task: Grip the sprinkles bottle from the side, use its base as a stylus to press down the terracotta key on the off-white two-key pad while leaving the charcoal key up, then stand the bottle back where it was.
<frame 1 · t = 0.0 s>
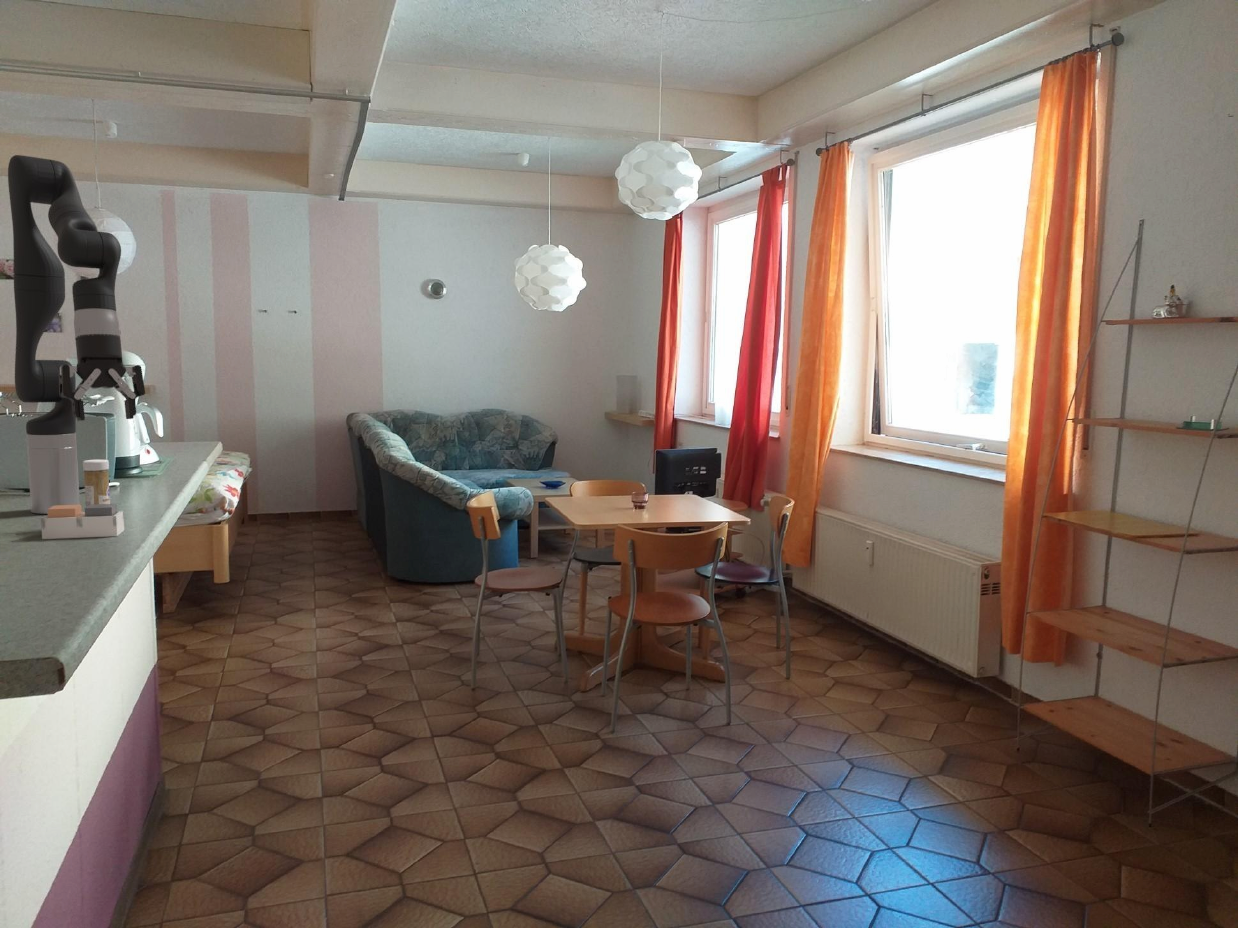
hand: (105, 419, 173), 22 cm above the countertop, tool pointing down, fingers open, 8 cm apart
keypad: (84, 534, 175), on the countertop
key terracotta: (64, 512, 174), point 4 cm above the countertop, slide at 0.0 cm
sprinkles bottle: (99, 526, 185), on the countertop
key charcoal: (101, 510, 176), point 4 cm above the countertop, slide at 0.0 cm
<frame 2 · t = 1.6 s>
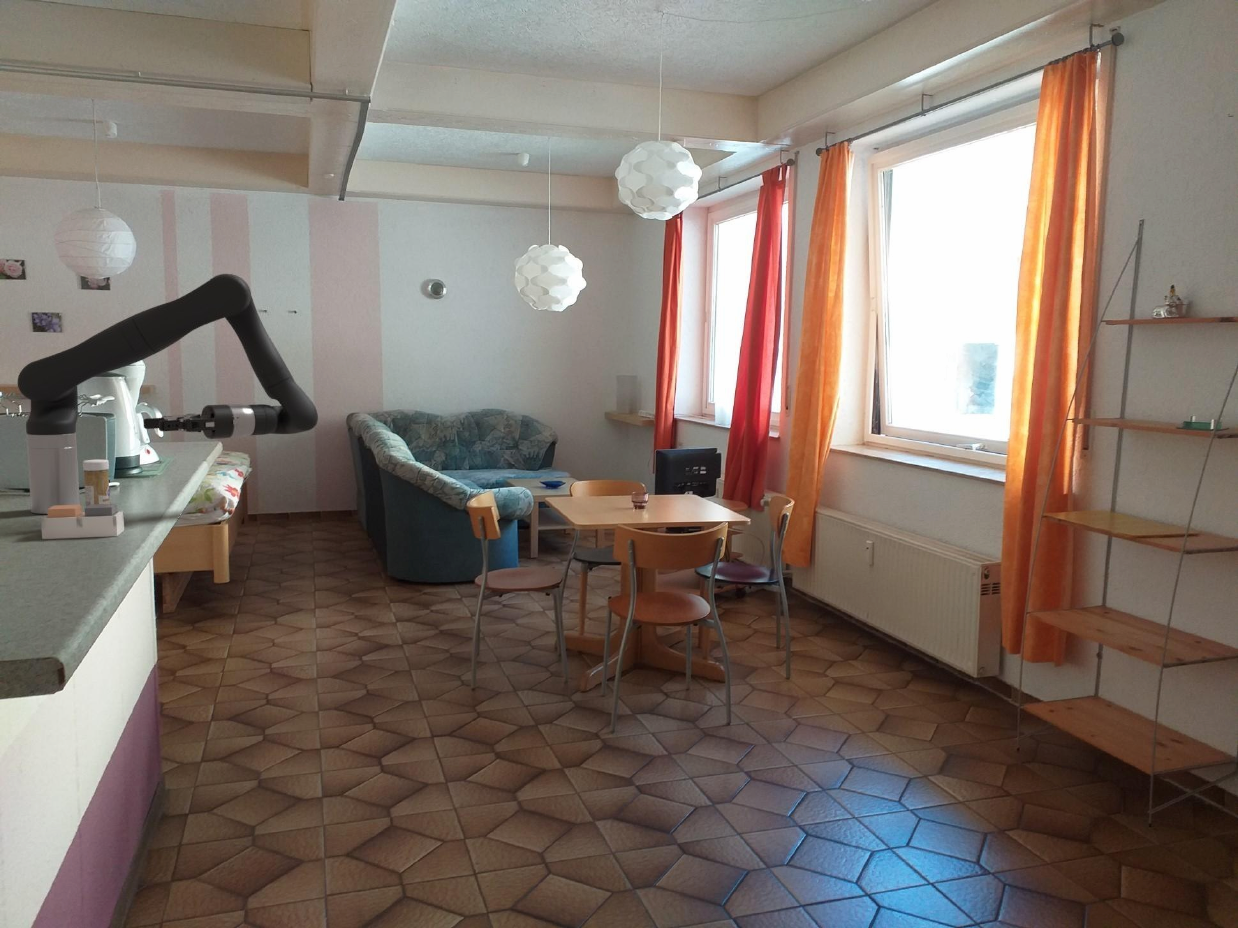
hand: (151, 425, 190), 20 cm above the countertop, tool horizontal, fingers open, 8 cm apart
nothing on the countertop moved.
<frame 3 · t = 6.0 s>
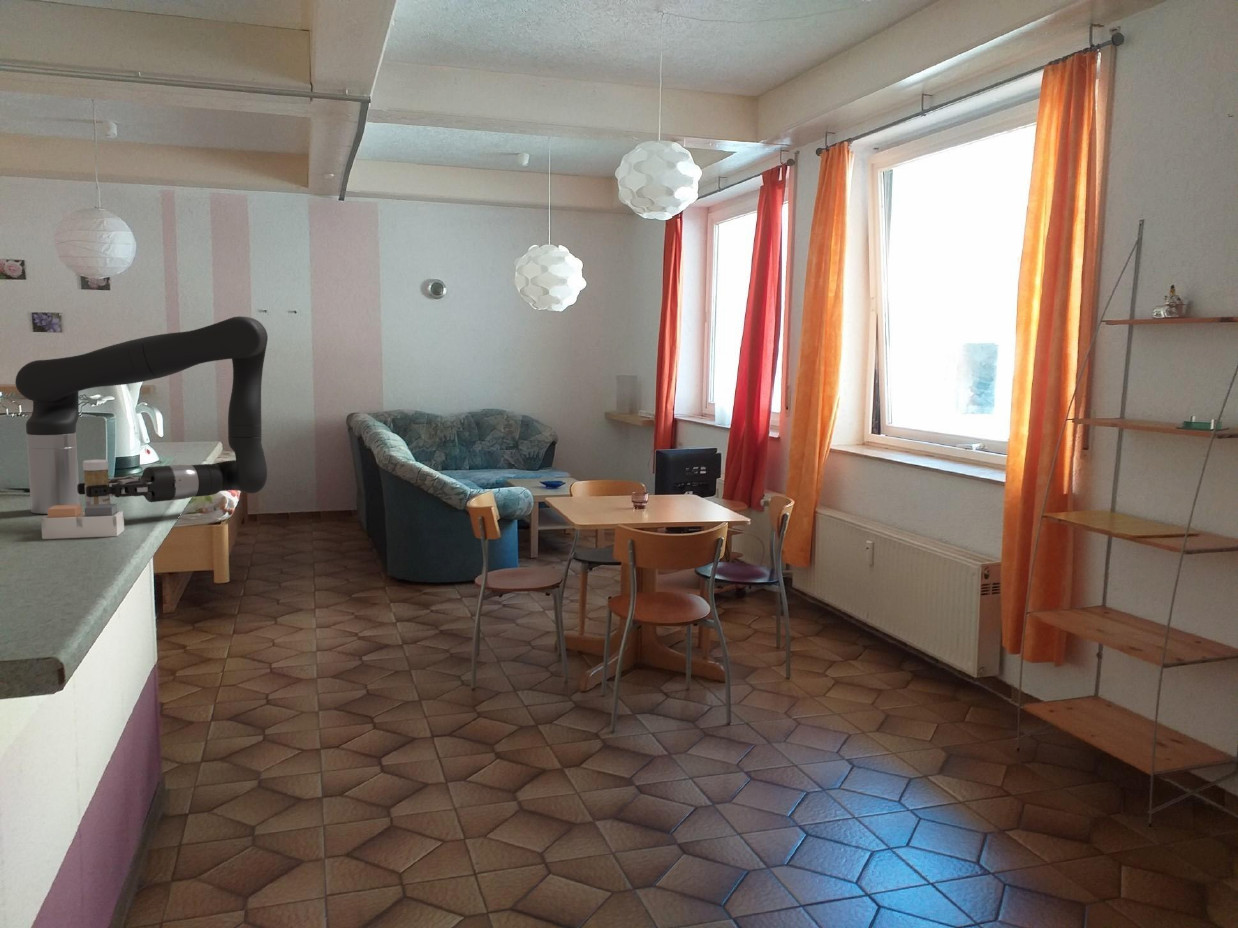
hand: (82, 490, 182), 8 cm above the countertop, tool horizontal, fingers closed on sprinkles bottle, 4 cm apart
sprinkles bottle: (99, 526, 185), on the countertop, touching gripper
everything else where it was.
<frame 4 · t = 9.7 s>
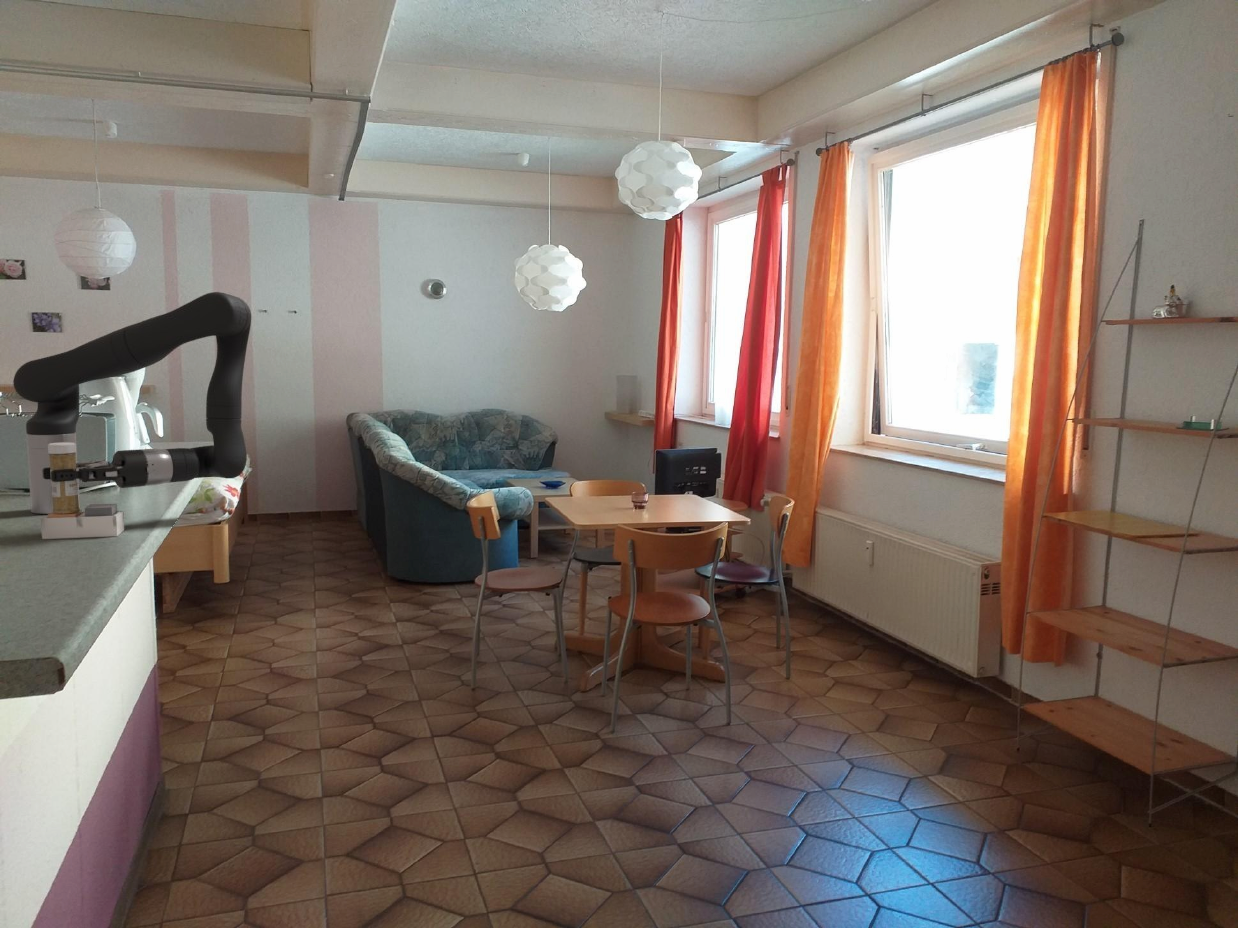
hand: (47, 475, 171), 12 cm above the countertop, tool horizontal, fingers closed on sprinkles bottle, 4 cm apart
key terracotta: (65, 517, 174), point 3 cm above the countertop, slide at 1.1 cm, touching sprinkles bottle
sprinkles bottle: (66, 513, 174), point 4 cm above the countertop, touching gripper, key terracotta
everything else where it was.
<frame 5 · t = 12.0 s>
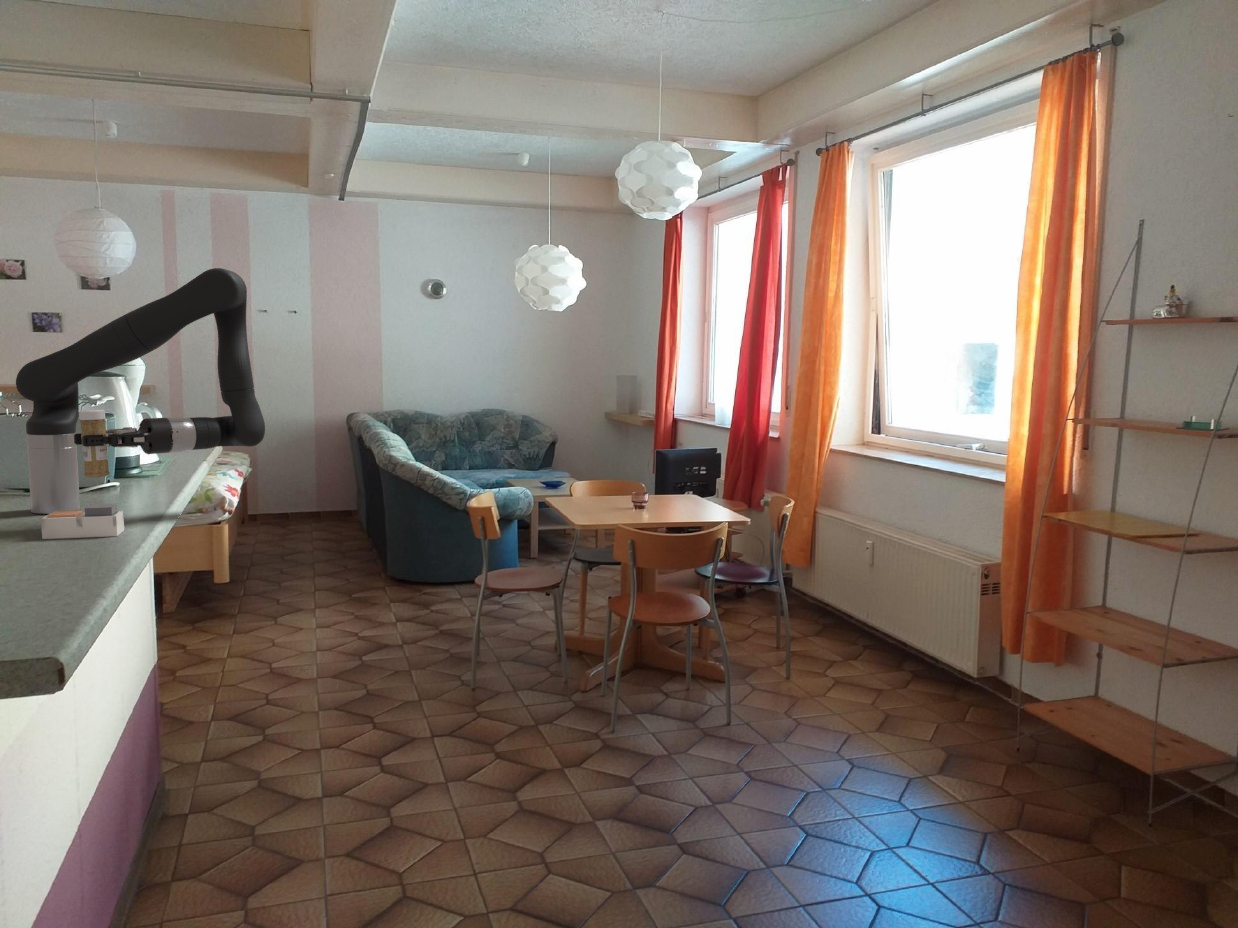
hand: (79, 440, 180), 18 cm above the countertop, tool horizontal, fingers closed on sprinkles bottle, 4 cm apart
key terracotta: (65, 517, 174), point 3 cm above the countertop, slide at 1.1 cm
sprinkles bottle: (97, 477, 183), point 10 cm above the countertop, touching gripper
everything else where it was.
when the fingers open (9 cm above the countertop, at t = 14.1 s): sprinkles bottle drops 1 cm, on the countertop.
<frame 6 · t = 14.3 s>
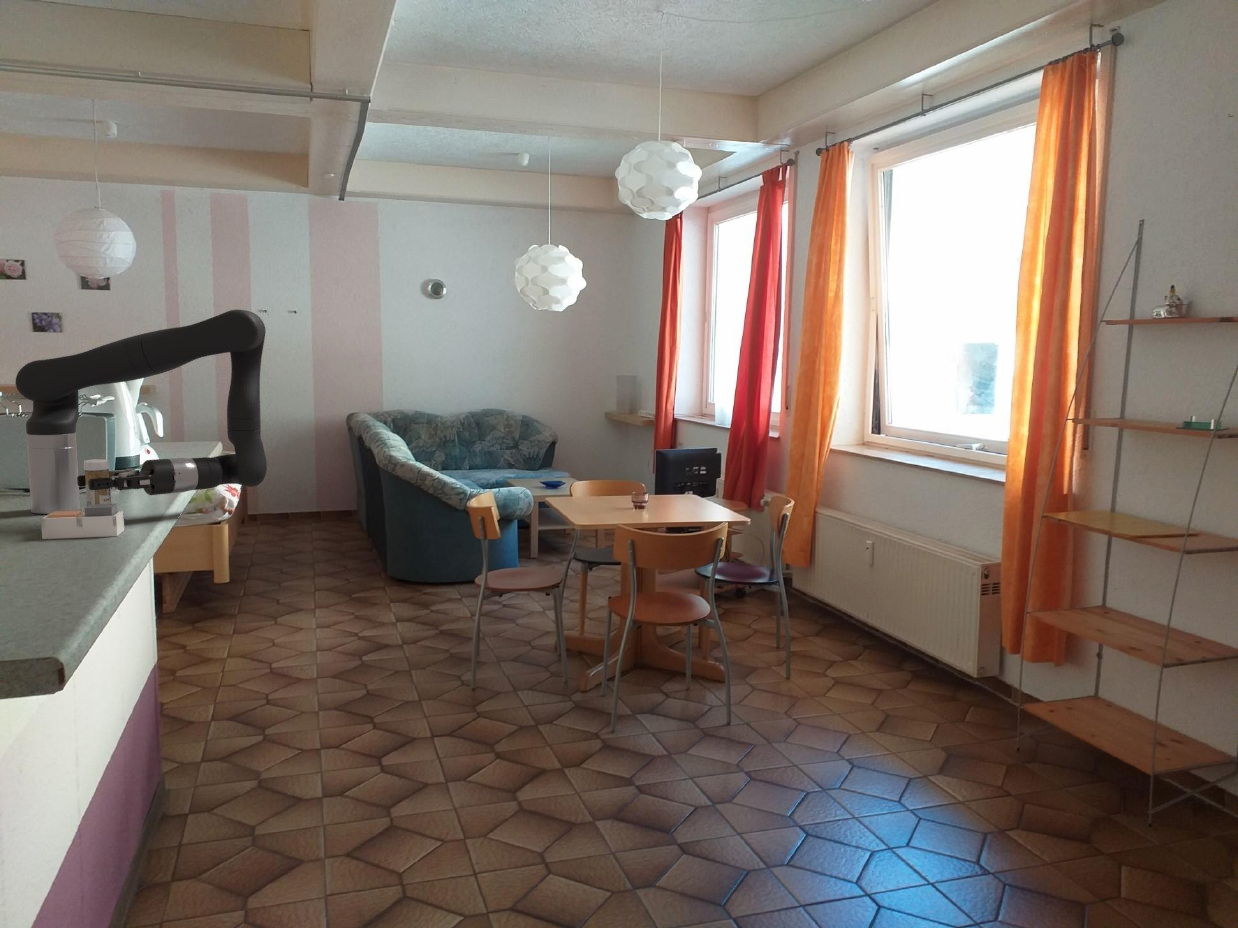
hand: (83, 482, 182), 9 cm above the countertop, tool horizontal, fingers open, 6 cm apart
sprinkles bottle: (100, 526, 185), on the countertop
everything else where it was.
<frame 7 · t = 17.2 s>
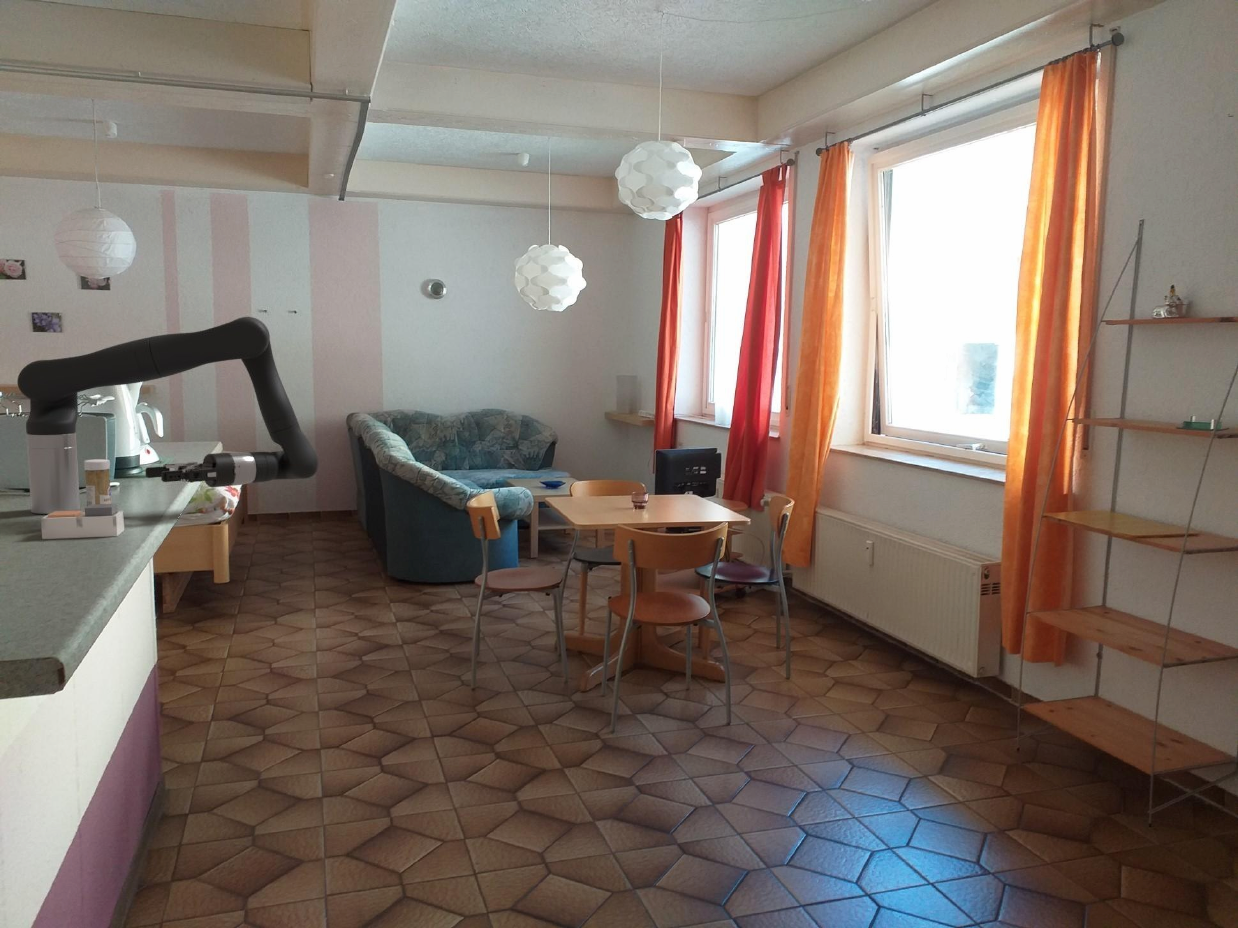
hand: (153, 474, 192), 10 cm above the countertop, tool horizontal, fingers open, 8 cm apart
nothing on the countertop moved.
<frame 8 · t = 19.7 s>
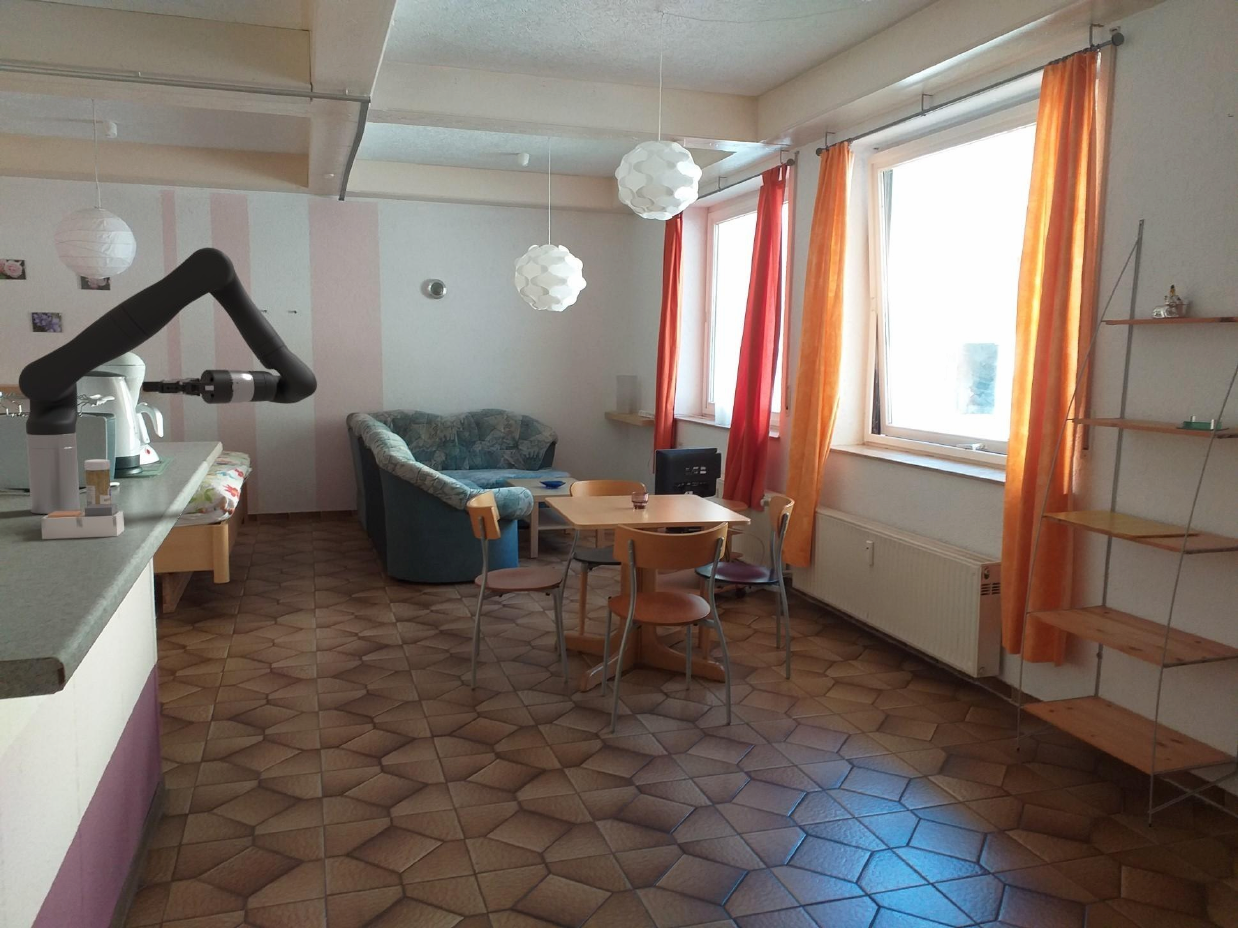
hand: (150, 387, 189), 28 cm above the countertop, tool horizontal, fingers open, 8 cm apart
nothing on the countertop moved.
at the end: key terracotta slide at 1.1 cm; key charcoal slide at 0.0 cm; sprinkles bottle tilted 0° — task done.
